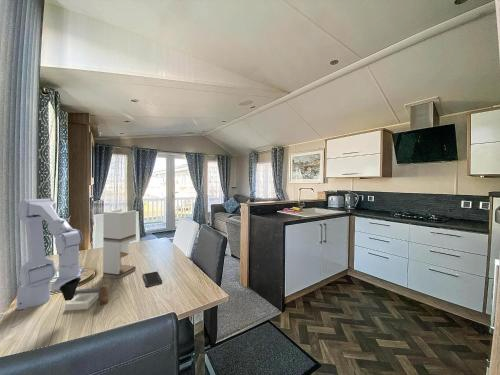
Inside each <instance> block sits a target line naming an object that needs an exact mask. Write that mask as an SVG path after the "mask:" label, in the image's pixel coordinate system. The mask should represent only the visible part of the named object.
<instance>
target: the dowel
mask: <svg viewBox="0 0 500 375" xmlns="http://www.w3.org/2000/svg"><path fill="white" fill-rule="evenodd" d="M99 288H100V298H99V305H100V306H105V305H106V304H108V303H109V284H101V285H100V286H99Z"/></svg>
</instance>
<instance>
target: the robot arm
mask: <svg viewBox="0 0 500 375" xmlns="http://www.w3.org/2000/svg"><path fill="white" fill-rule="evenodd" d="M56 207H57V205H56V201H55V199H53V198H52V197H48V198H31V199H30V198H29V199H25V198H24V199H21V200H20V201H19V203H18V205H17V210H18V217H19V221H22V222H23V221H24V223H25V231H26V232H25V233H26V241H27V251H28V252H27V253H28V261H27V262H25V263H24V264H22V265H21V267H20V268H19V275H18V279H19V283H20V286H19V287H18V289H17V292H16V307H15V308H14V310H15V311H16V310H26V309H28V308H31V307H38V306H40V305H43V304H47V303H48V302H49V301H50V300H51V291H58V290H59V291H60V293H62V296H63V298H64V301H67V302H68V301H70V300H72V299H73V298H74V294H75V291H76V290H77V289H78V288H77V287H78V285H79V284H80V281H81V278H82V276H83V273H84V272H85V267H84V266H82V267H80V245H81V244H83V238H84V237H83V233H82V232H81V231H80V230H79V229H76V228H73V227H72V226H71V225H70V223H68V221H67V220H66V219H65V218H61V217H60V216H59V214H58V212H57V211H56ZM44 220H45V222H46V223H48V224H47V229H48V230H49V232H50V233H51V234H52V236H53V237H54V238H55V240H54V243H55V247H56V252H57V254H58V277H57V278H56V280H55V281H54V282H53V283H52V284H51V281H53V278H54V277H55V276H56V273H57V268H56V266H55V263H54V262H55V261H54V260H53V259H51V258H48V257H47V256H46V249H45V238H44V229H43V221H44Z"/></svg>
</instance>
